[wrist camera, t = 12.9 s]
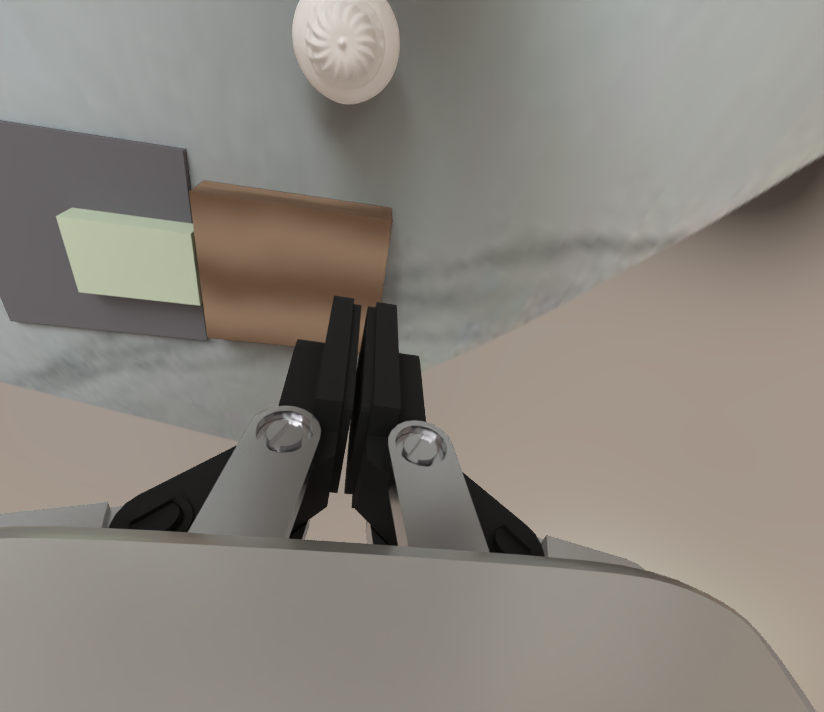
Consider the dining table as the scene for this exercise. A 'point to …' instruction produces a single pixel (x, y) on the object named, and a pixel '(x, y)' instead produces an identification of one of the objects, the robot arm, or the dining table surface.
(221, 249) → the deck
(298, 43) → the white swirled ornament
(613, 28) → the dining table surface
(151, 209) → the mat
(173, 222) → the pale green block
